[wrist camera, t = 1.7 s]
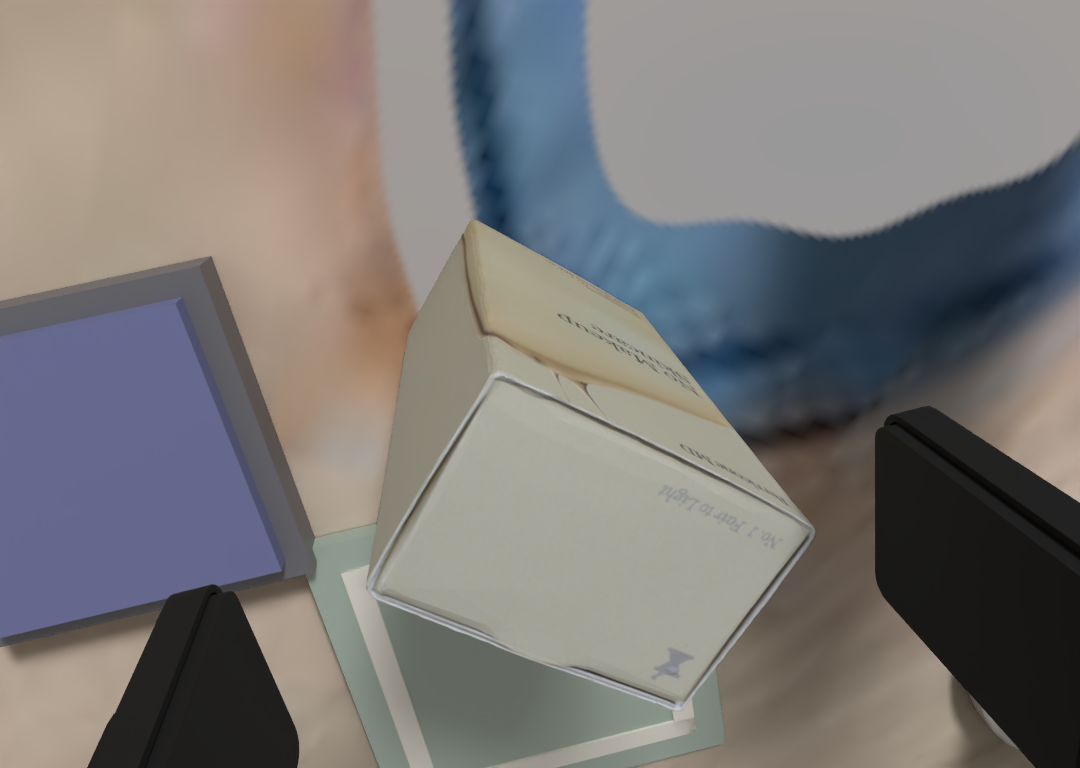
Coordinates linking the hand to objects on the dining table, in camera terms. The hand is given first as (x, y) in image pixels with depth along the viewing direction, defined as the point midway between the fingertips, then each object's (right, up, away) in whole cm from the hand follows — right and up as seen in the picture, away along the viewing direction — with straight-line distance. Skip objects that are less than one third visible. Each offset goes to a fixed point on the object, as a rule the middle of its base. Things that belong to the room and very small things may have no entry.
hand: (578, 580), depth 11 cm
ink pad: (-14, +1, +12) cm, 18 cm away
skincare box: (-1, +5, +12) cm, 13 cm away
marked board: (-1, -7, +17) cm, 18 cm away
